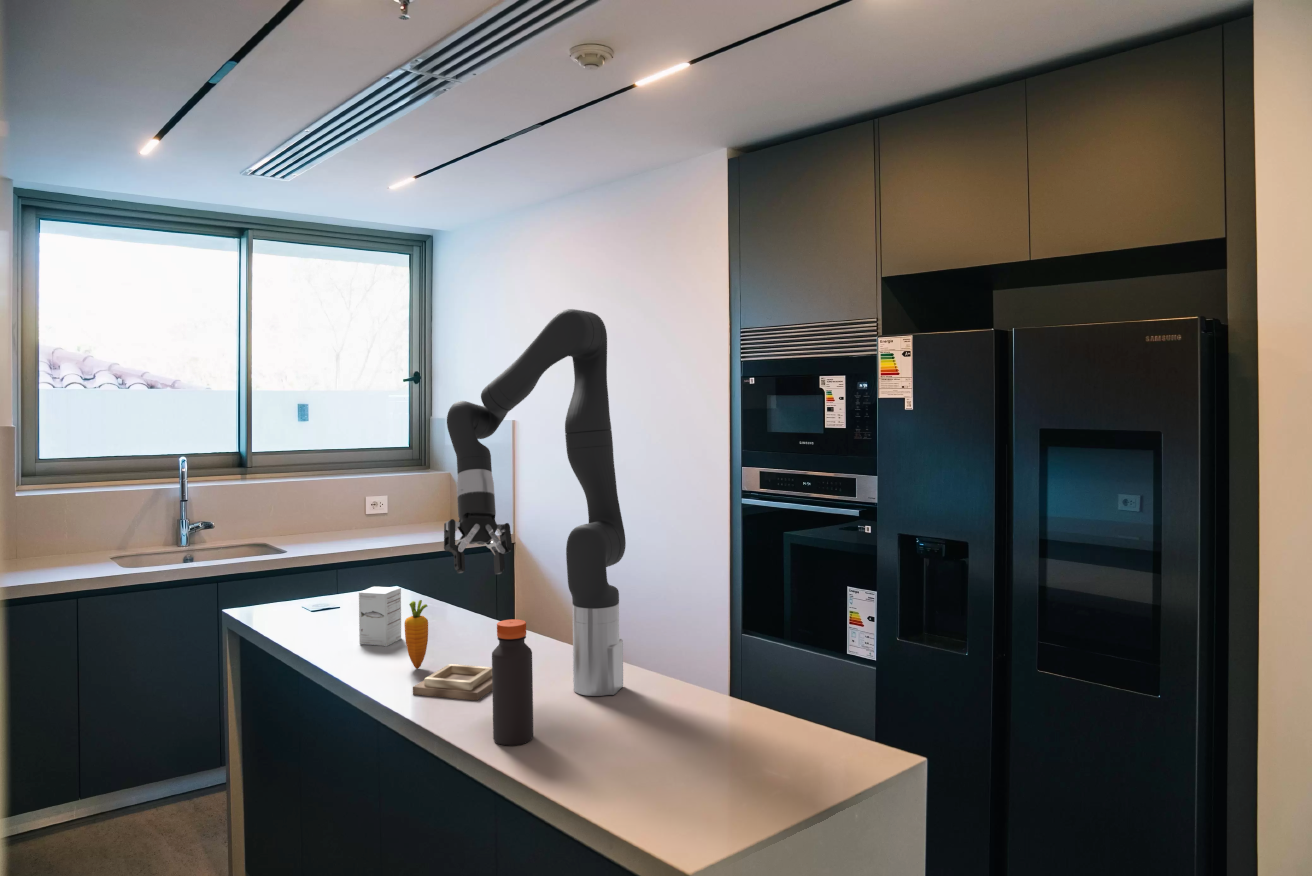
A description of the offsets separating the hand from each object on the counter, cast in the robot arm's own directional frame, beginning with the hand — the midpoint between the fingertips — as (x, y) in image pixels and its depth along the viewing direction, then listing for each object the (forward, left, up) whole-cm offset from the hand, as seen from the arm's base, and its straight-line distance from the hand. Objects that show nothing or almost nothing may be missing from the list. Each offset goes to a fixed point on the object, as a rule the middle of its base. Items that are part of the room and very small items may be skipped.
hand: (480, 572), depth 179 cm
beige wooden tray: (+4, +2, -23) cm, 24 cm away
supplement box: (+39, -24, -23) cm, 52 cm away
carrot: (+19, -7, -23) cm, 31 cm away
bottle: (-18, +24, -23) cm, 38 cm away
